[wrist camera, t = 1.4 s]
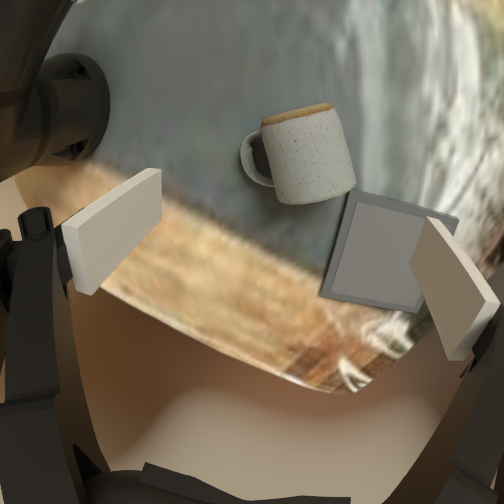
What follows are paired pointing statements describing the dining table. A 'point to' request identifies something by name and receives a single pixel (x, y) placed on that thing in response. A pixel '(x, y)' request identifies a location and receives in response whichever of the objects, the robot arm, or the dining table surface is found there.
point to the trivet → (378, 252)
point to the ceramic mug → (303, 155)
